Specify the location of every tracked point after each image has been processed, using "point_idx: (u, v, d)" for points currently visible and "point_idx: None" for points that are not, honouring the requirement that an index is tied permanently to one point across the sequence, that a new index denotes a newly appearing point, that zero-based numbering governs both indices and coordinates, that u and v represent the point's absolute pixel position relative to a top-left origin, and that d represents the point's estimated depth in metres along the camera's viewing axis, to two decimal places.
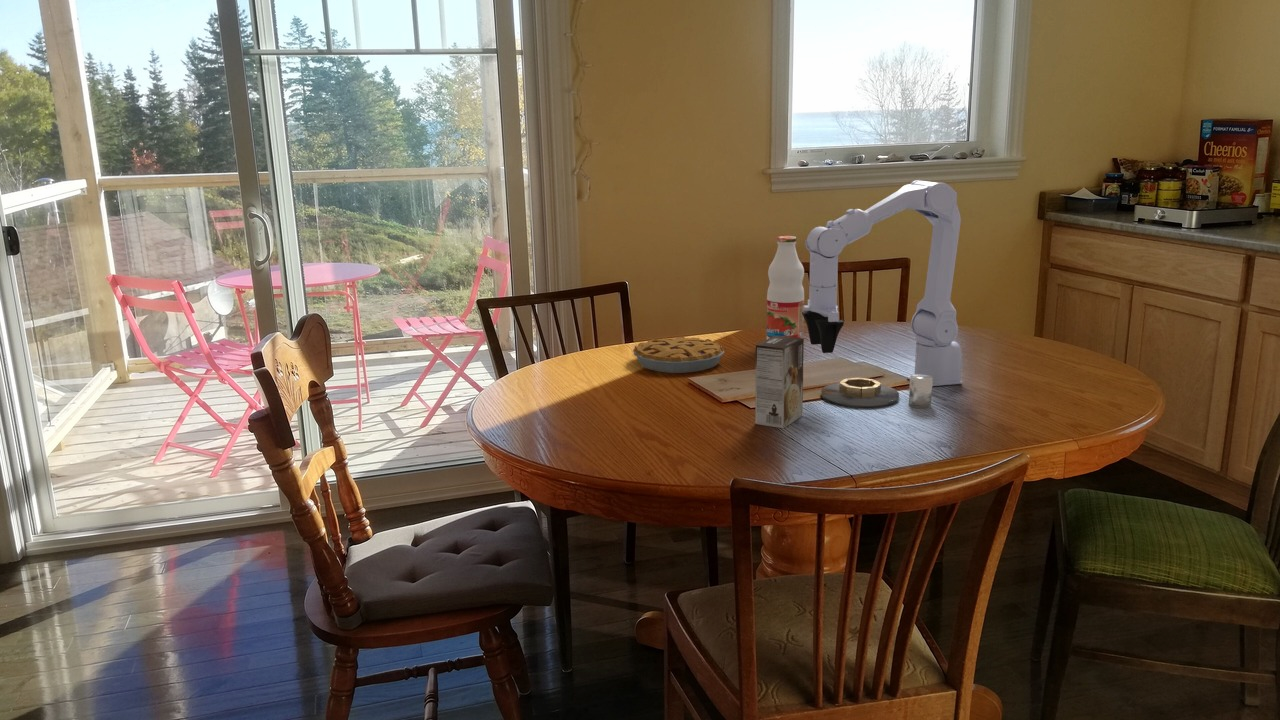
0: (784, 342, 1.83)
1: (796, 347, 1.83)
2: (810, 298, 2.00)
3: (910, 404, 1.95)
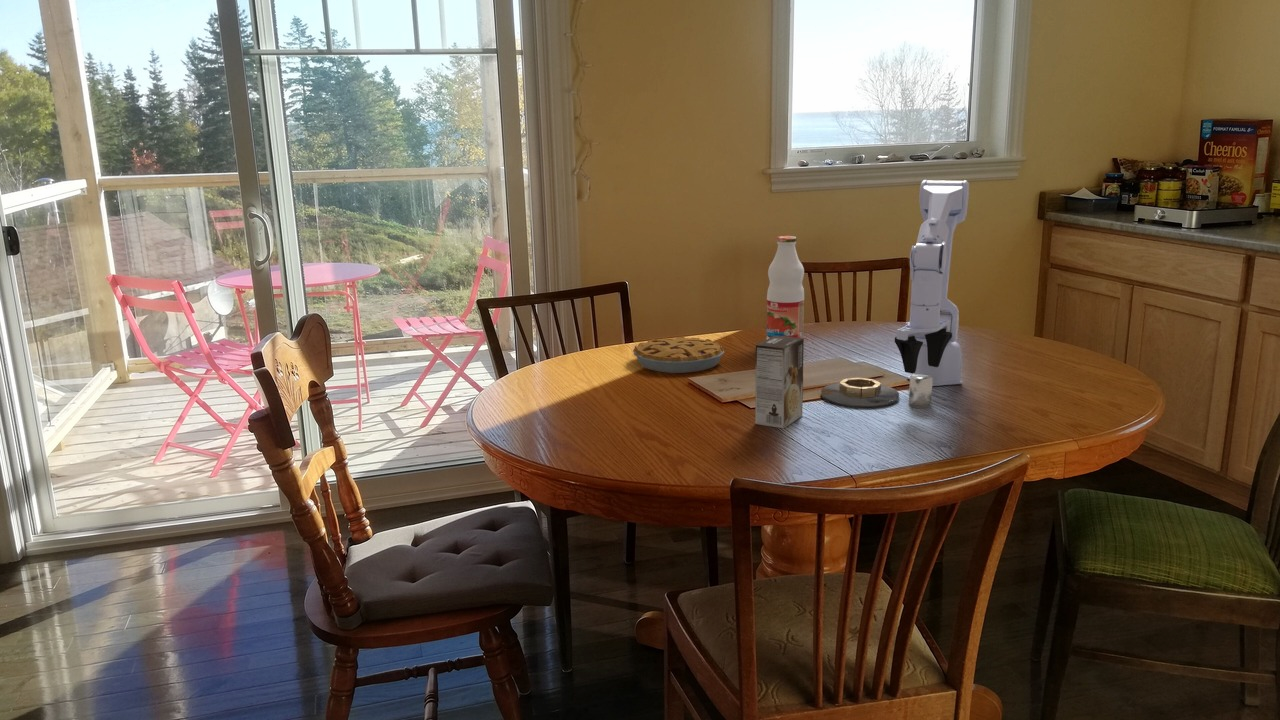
0: (784, 342, 1.83)
1: (796, 347, 1.83)
2: None
3: (910, 404, 1.95)
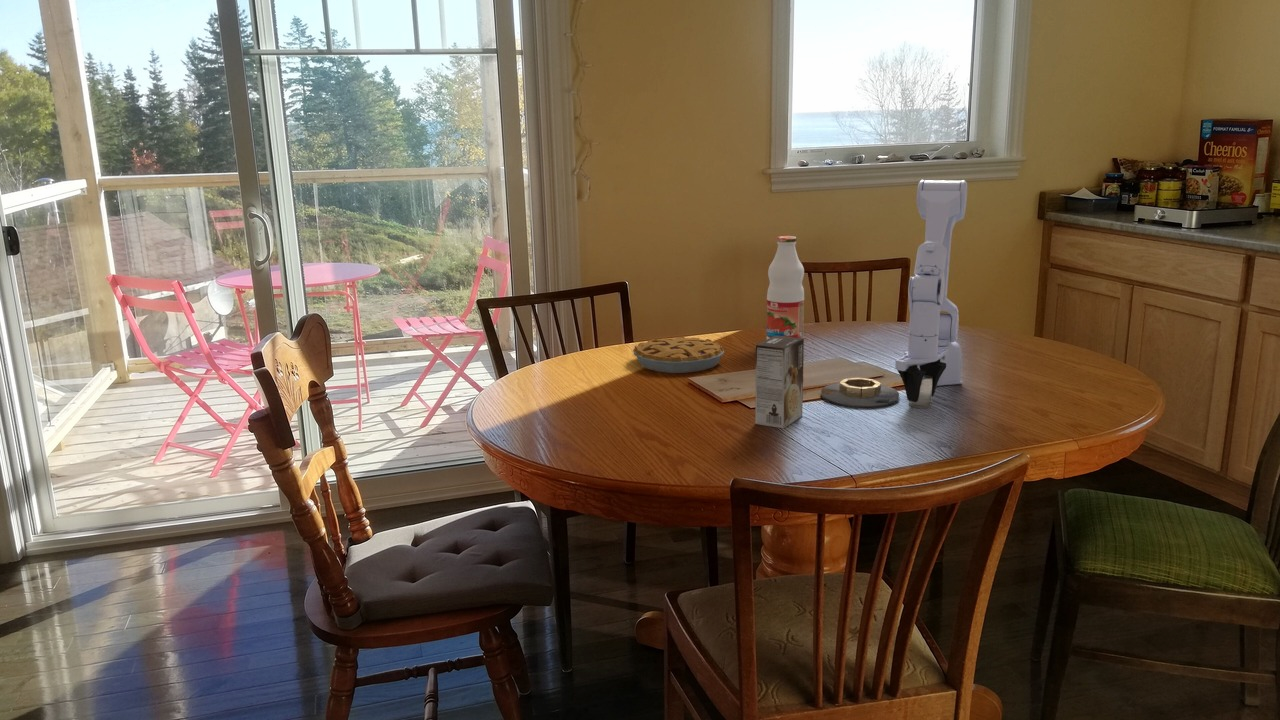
0: (784, 342, 1.83)
1: (796, 347, 1.83)
2: None
3: (910, 404, 1.95)
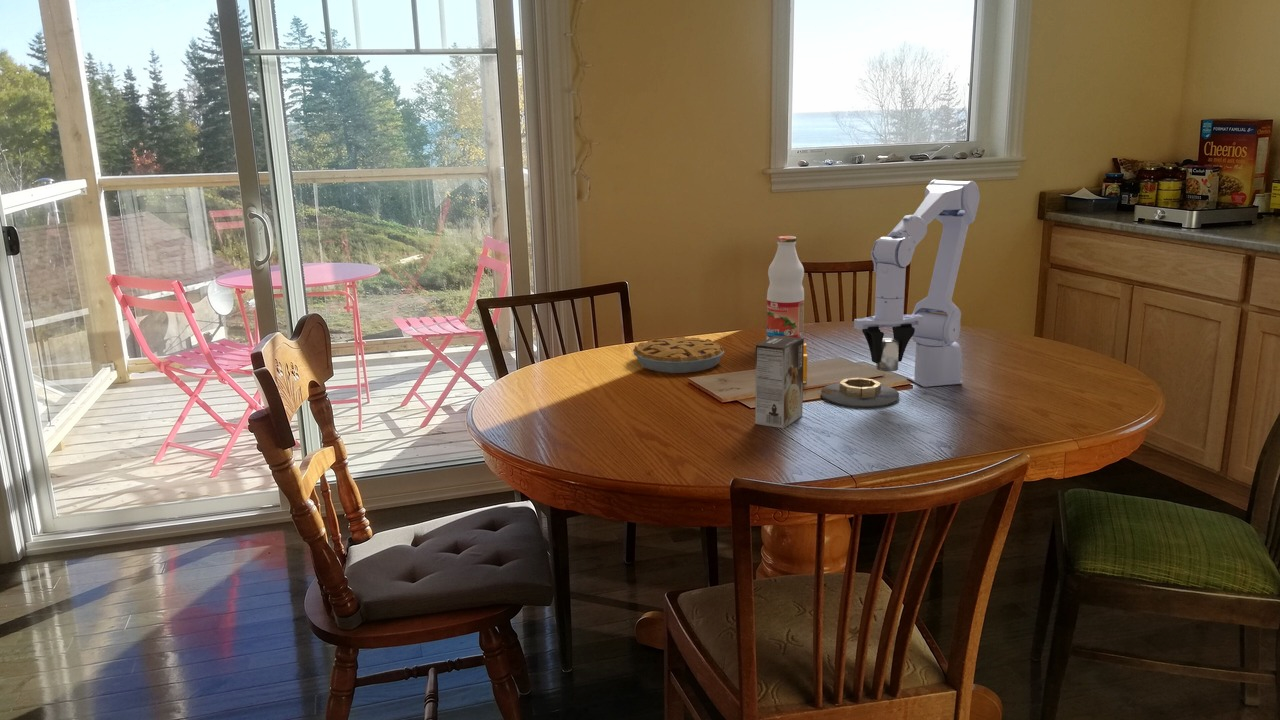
0: (784, 342, 1.83)
1: (796, 347, 1.83)
2: None
3: (876, 366, 1.98)
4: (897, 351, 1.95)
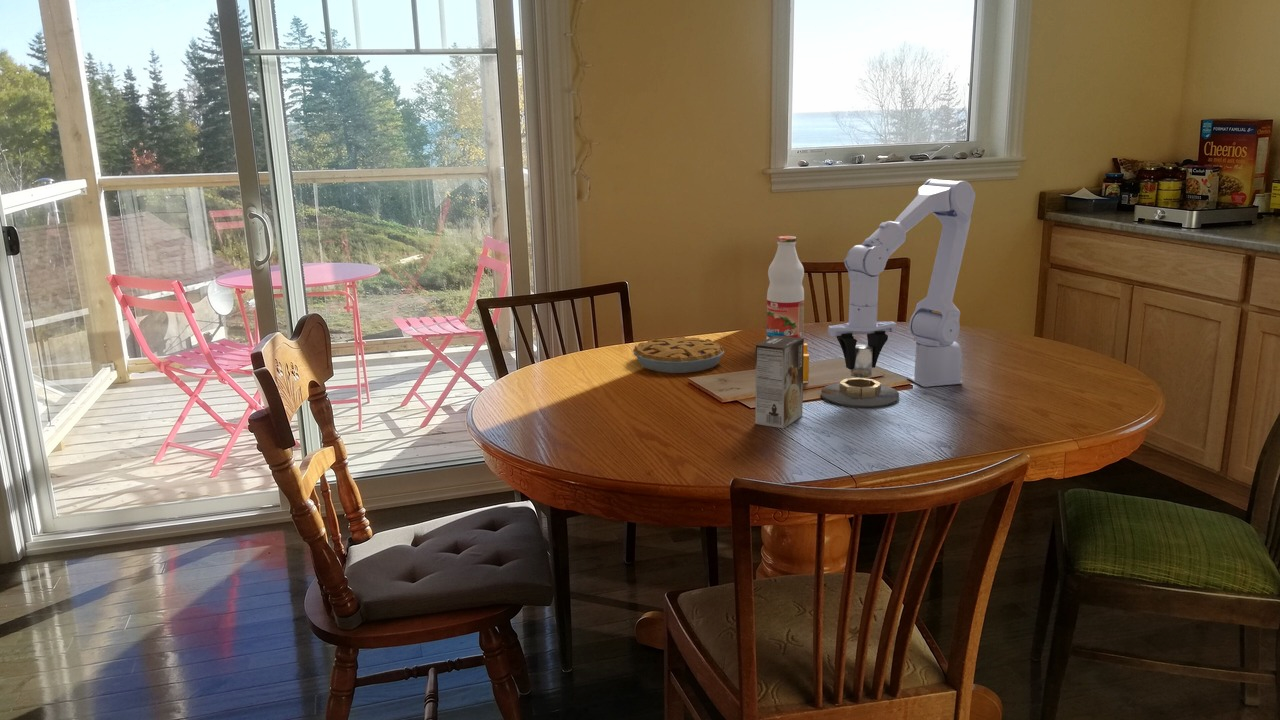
0: (784, 342, 1.83)
1: (796, 347, 1.83)
2: None
3: (850, 372, 2.01)
4: (870, 357, 1.99)
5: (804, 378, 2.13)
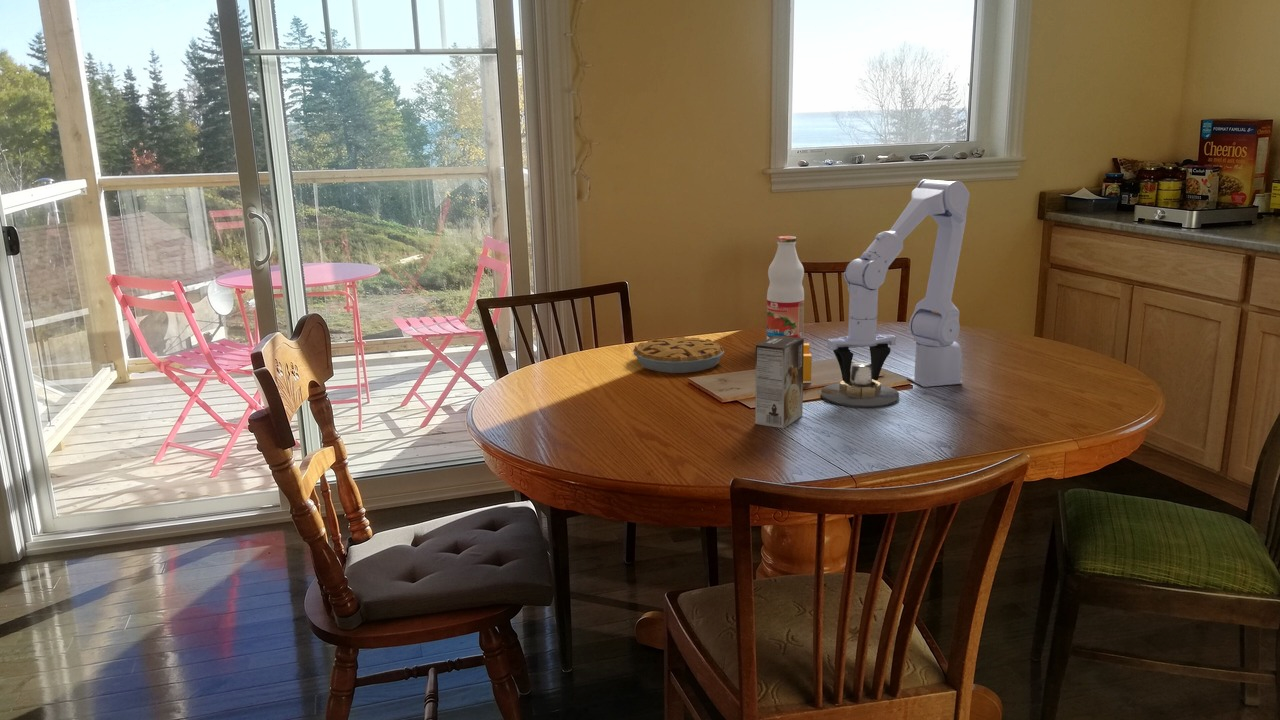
0: (784, 342, 1.83)
1: (796, 347, 1.83)
2: None
3: None
4: (870, 375, 2.00)
5: (807, 378, 2.13)
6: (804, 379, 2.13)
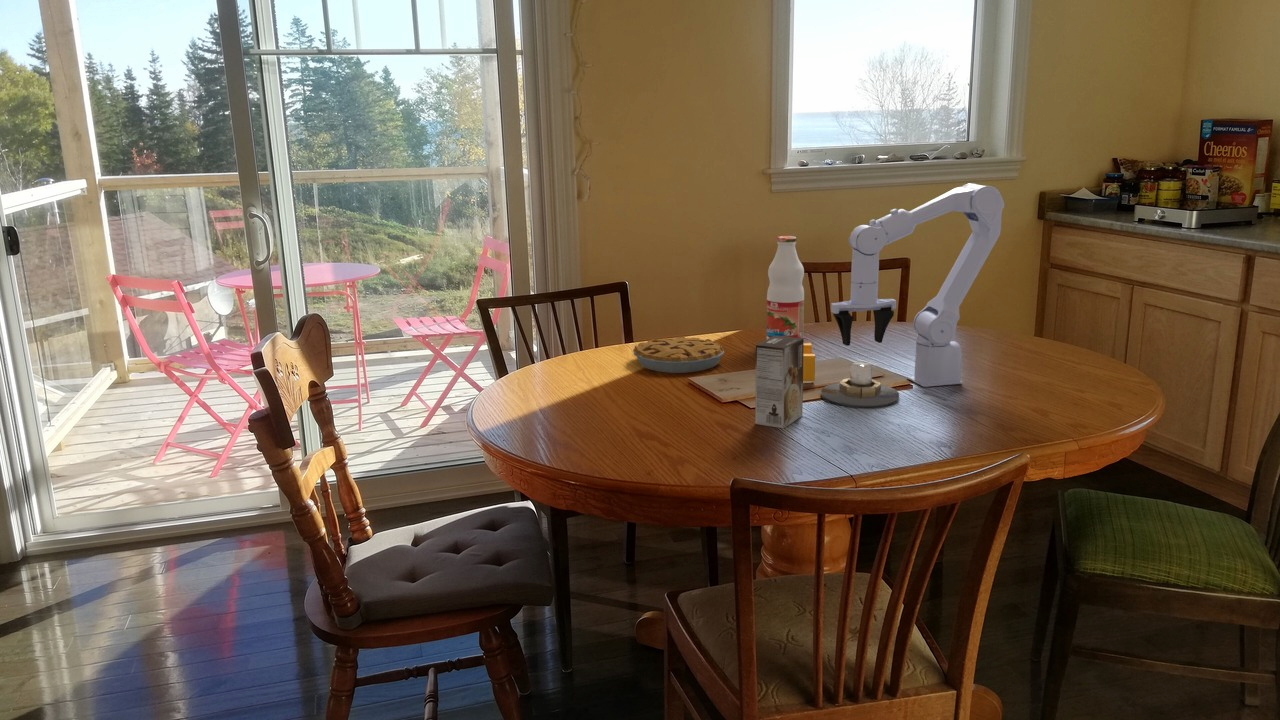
0: (784, 342, 1.83)
1: (796, 347, 1.83)
2: None
3: None
4: (870, 375, 2.00)
5: (810, 378, 2.13)
6: (808, 379, 2.13)
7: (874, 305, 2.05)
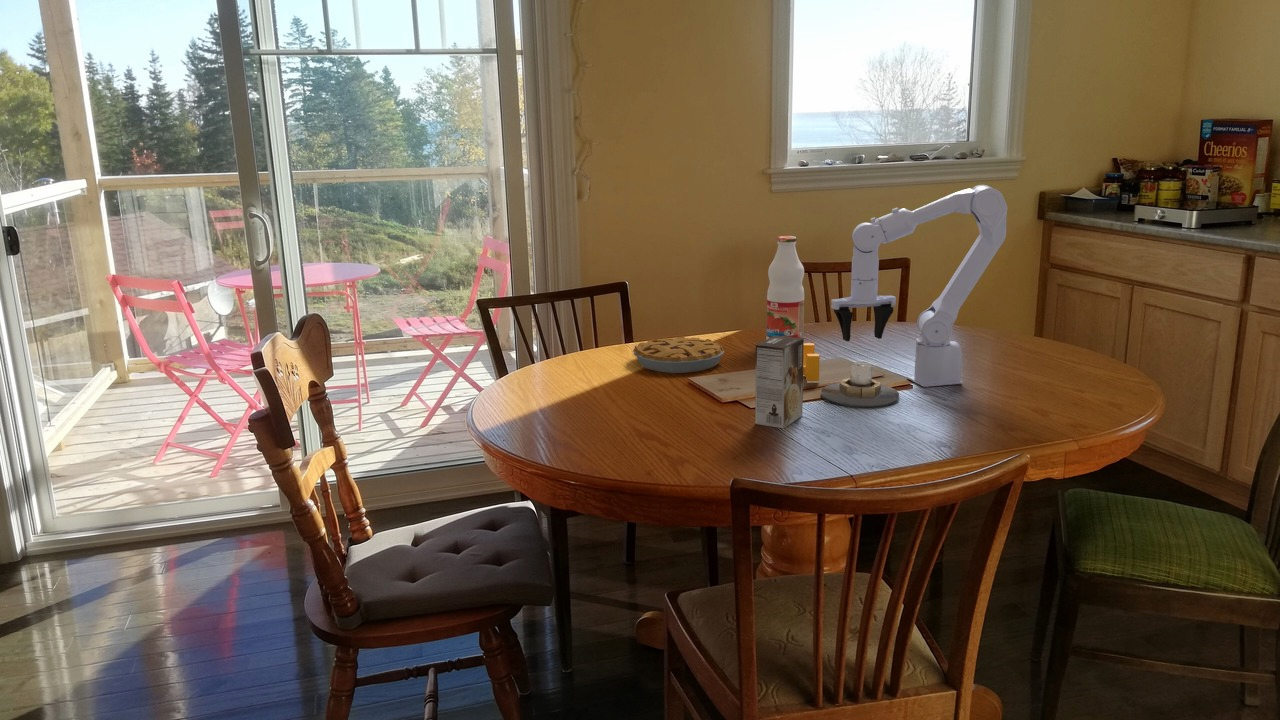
0: (784, 342, 1.83)
1: (796, 347, 1.83)
2: None
3: None
4: (870, 375, 2.00)
5: (815, 378, 2.13)
6: (812, 379, 2.13)
7: (874, 301, 2.08)
